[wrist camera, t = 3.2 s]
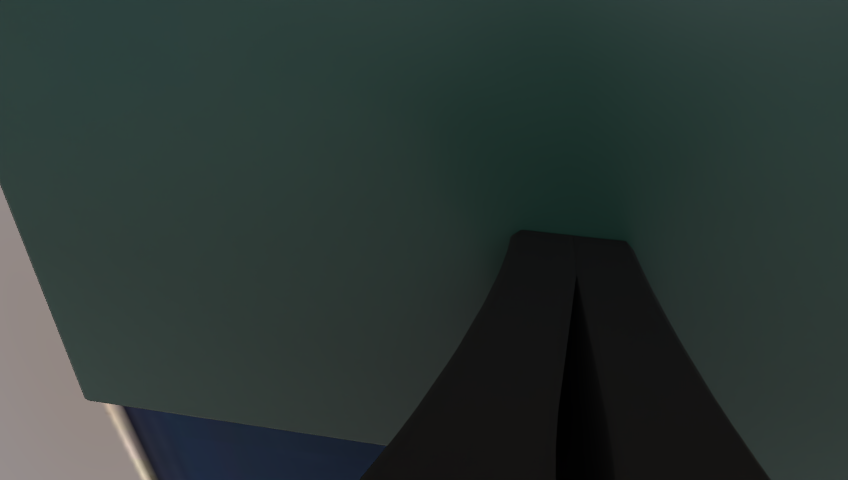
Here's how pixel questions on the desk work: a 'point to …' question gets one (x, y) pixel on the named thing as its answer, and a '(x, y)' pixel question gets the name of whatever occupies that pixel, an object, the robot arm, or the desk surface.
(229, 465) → the desk surface
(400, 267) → the bin lid
